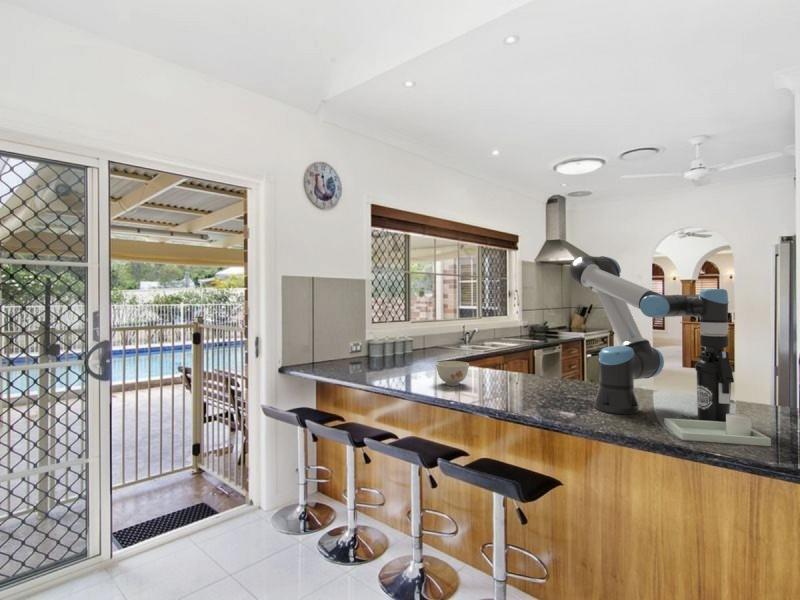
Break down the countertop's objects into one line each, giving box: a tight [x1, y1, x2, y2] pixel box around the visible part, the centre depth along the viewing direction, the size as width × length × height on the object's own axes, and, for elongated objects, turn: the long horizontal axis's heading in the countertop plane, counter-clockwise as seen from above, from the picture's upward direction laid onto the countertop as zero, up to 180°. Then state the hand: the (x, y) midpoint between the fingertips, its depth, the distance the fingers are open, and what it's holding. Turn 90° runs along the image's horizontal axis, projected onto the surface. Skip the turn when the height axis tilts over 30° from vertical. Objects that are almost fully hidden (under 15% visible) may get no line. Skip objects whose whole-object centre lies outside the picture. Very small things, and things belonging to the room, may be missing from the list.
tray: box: [663, 417, 772, 447], centre depth 130 cm, size 22×15×3 cm
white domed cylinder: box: [726, 412, 752, 436], centre depth 128 cm, size 6×6×6 cm
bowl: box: [435, 360, 470, 387], centre depth 206 cm, size 16×16×10 cm
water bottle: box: [694, 355, 734, 422], centre depth 142 cm, size 10×10×23 cm
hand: (714, 398), depth 142 cm, fingers open, 13 cm apart
